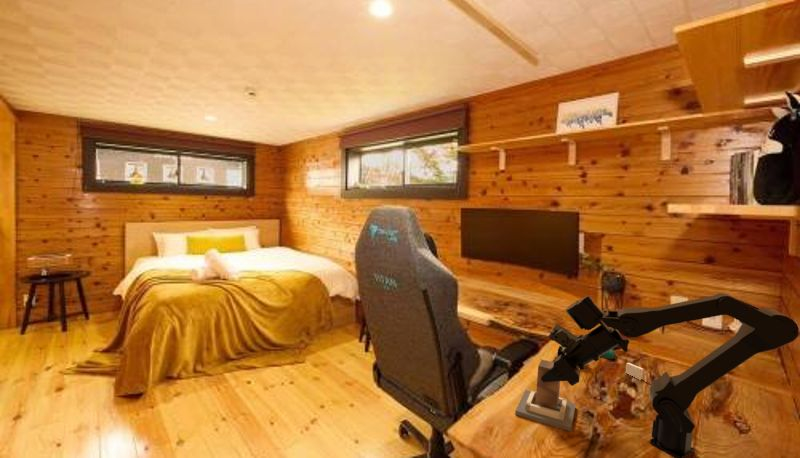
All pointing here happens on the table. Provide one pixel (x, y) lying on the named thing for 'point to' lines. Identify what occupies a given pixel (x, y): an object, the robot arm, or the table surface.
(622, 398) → the table surface
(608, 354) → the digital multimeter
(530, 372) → the table surface
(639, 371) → the eraser
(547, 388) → the block
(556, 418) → the socket plate
